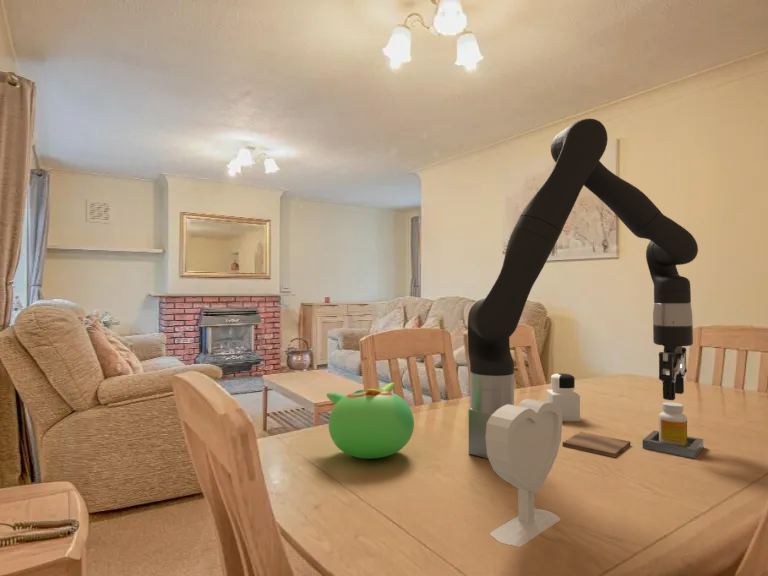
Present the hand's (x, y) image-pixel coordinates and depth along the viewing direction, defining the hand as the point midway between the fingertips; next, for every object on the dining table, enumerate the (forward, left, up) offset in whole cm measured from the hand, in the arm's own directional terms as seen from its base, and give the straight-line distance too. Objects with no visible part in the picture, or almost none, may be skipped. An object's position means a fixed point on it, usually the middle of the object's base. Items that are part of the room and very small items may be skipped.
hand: (673, 396), depth 106 cm
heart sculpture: (-55, +8, -12) cm, 57 cm away
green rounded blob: (-49, +46, -12) cm, 68 cm away
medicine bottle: (+8, +28, -12) cm, 31 cm away
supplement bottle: (0, 0, -12) cm, 12 cm away
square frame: (0, 0, -11) cm, 11 cm away
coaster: (-10, +13, -11) cm, 20 cm away
